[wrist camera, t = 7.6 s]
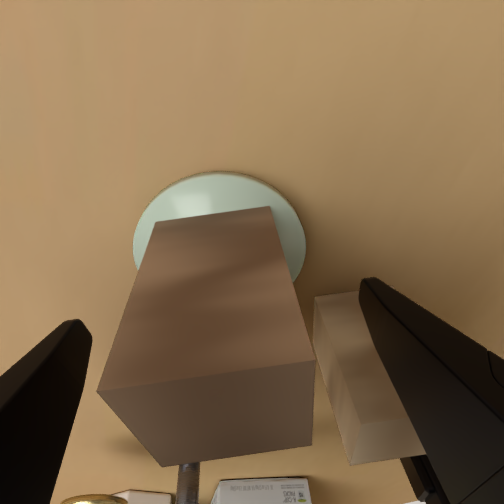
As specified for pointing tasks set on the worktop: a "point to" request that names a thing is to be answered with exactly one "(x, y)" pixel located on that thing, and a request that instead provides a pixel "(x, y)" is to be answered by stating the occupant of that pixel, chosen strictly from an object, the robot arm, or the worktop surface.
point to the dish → (223, 209)
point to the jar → (145, 497)
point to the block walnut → (213, 343)
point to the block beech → (359, 384)
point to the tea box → (263, 491)
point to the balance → (184, 495)
